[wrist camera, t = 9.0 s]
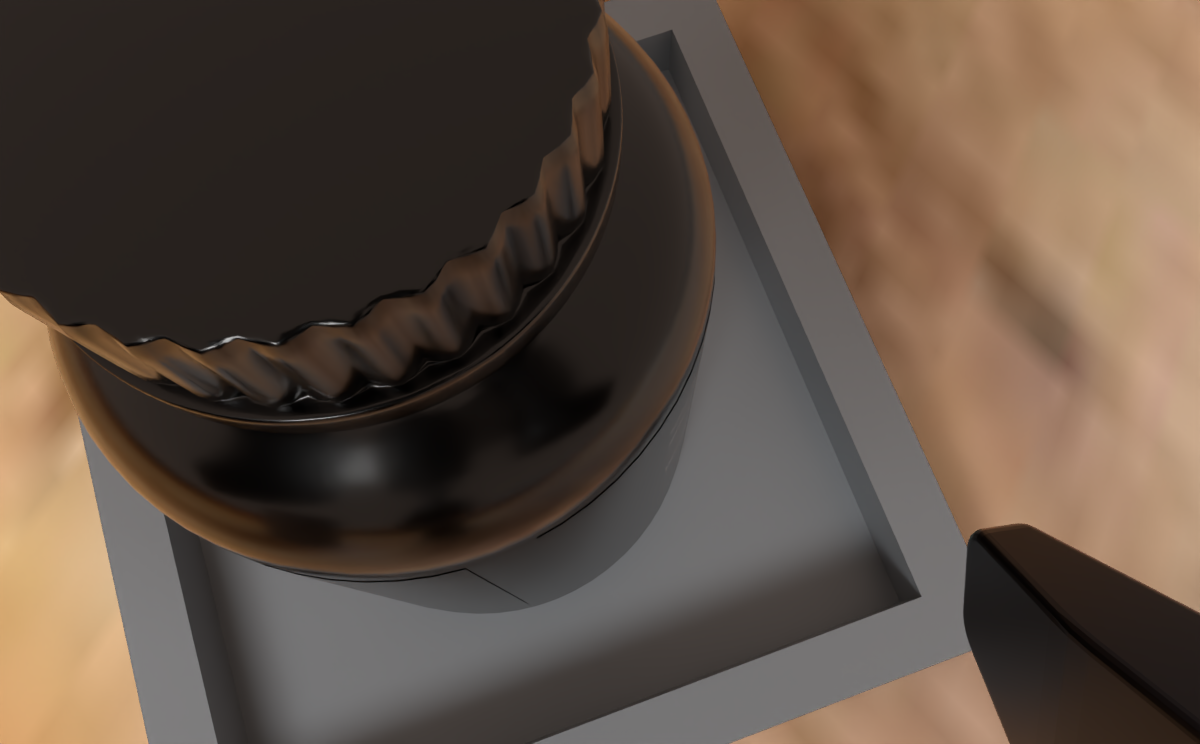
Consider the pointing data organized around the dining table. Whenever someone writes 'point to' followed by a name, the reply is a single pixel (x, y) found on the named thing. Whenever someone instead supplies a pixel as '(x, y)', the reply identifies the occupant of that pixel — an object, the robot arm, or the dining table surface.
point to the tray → (652, 565)
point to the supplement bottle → (365, 276)
